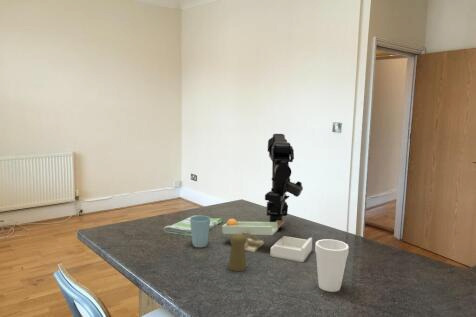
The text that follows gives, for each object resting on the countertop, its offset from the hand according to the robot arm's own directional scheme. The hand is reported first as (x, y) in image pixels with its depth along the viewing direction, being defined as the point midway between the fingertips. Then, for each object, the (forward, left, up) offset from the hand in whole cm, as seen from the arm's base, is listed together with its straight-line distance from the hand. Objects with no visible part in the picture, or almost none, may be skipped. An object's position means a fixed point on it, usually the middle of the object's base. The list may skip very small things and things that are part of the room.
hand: (279, 214), depth 150 cm
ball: (+11, -15, -3) cm, 19 cm away
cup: (+19, -25, -11) cm, 33 cm away
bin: (+11, +9, -11) cm, 17 cm away
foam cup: (+31, +26, -11) cm, 42 cm away
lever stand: (+11, -8, -11) cm, 17 cm away
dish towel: (+1, -38, -12) cm, 40 cm away
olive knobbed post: (+31, -4, -11) cm, 33 cm away
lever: (+6, -8, -5) cm, 11 cm away
